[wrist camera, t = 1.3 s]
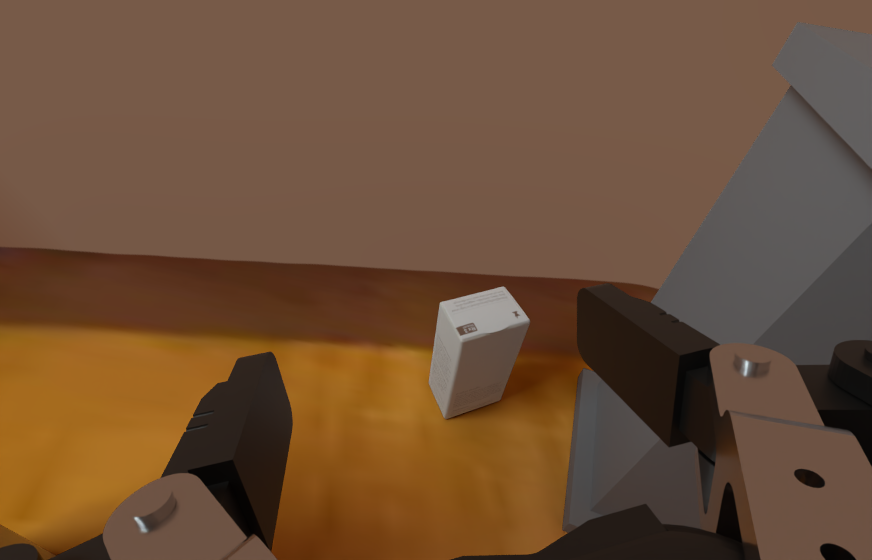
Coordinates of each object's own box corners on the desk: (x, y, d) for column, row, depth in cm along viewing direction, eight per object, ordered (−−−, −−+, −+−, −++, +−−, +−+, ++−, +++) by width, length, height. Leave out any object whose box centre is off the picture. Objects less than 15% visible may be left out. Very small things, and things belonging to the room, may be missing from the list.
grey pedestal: (562, 530, 32) (1006, 54, 10) (578, 377, 43) (806, -20, 20) (772, 613, 30) (2071, 231, 7) (733, 428, 40) (1196, 39, 18)
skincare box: (480, 367, 43) (505, 280, 35) (502, 404, 40) (535, 319, 32) (424, 384, 41) (437, 297, 32) (443, 425, 38) (462, 340, 30)
